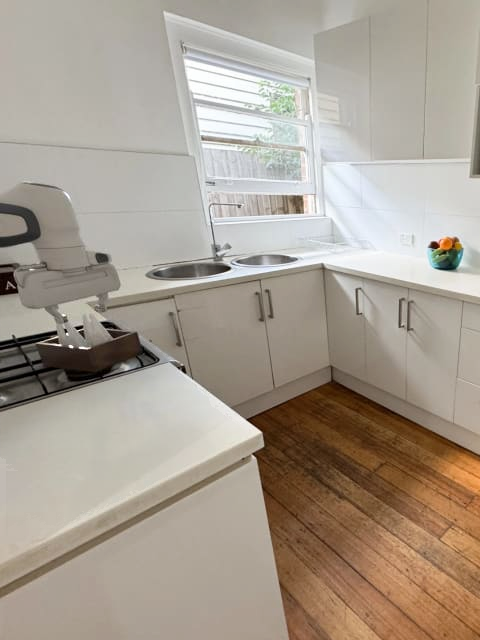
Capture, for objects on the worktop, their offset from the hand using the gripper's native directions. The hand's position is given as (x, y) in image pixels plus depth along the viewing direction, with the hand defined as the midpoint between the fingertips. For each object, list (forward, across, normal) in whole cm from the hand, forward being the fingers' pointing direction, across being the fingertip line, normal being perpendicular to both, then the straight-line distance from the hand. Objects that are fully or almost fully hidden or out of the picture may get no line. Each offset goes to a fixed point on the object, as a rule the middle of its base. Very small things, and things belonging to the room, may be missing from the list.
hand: (83, 317), depth 92 cm
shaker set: (+10, -1, 0) cm, 10 cm away
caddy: (+11, 0, 0) cm, 11 cm away
